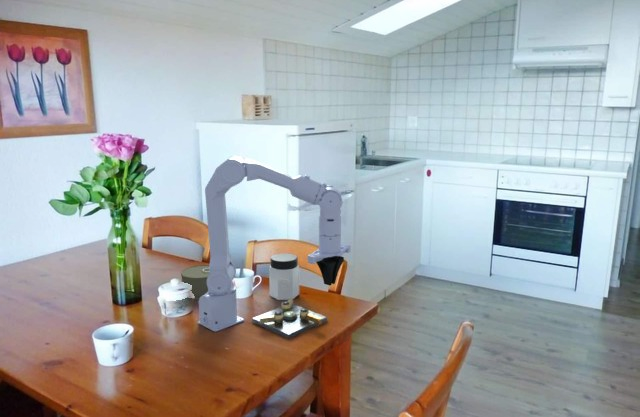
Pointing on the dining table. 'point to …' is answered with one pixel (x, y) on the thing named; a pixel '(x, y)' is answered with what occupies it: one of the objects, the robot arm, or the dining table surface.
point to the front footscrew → (309, 316)
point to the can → (196, 279)
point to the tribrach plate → (289, 322)
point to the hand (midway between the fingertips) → (329, 283)
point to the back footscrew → (287, 305)
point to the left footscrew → (272, 318)
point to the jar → (284, 276)
